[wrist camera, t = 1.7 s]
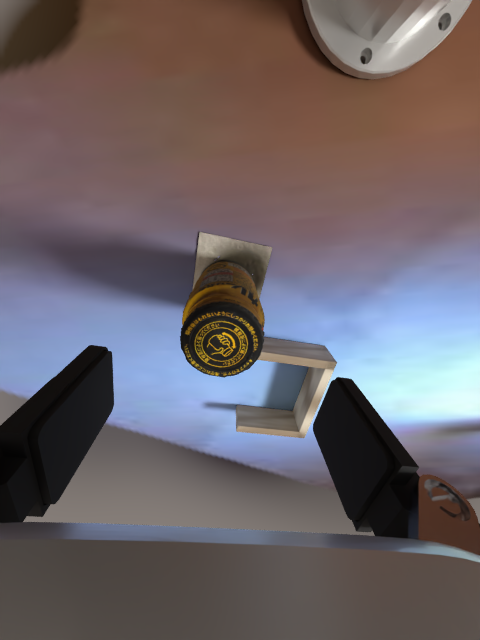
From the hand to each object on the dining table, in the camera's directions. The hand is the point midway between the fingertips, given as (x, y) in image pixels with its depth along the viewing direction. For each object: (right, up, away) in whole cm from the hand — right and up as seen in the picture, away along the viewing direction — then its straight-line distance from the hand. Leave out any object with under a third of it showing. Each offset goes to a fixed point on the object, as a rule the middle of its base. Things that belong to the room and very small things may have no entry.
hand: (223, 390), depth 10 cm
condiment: (-1, +7, +15) cm, 17 cm away
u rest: (+5, -5, +20) cm, 22 cm away
